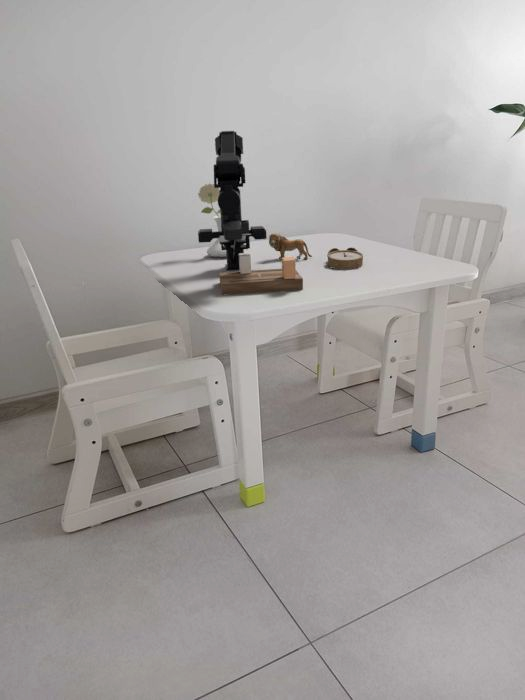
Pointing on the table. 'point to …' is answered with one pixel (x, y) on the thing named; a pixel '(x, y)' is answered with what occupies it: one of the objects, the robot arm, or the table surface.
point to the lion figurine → (287, 245)
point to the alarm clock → (345, 258)
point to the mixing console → (258, 282)
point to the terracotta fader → (288, 268)
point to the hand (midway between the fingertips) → (233, 264)
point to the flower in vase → (210, 196)
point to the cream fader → (245, 263)
